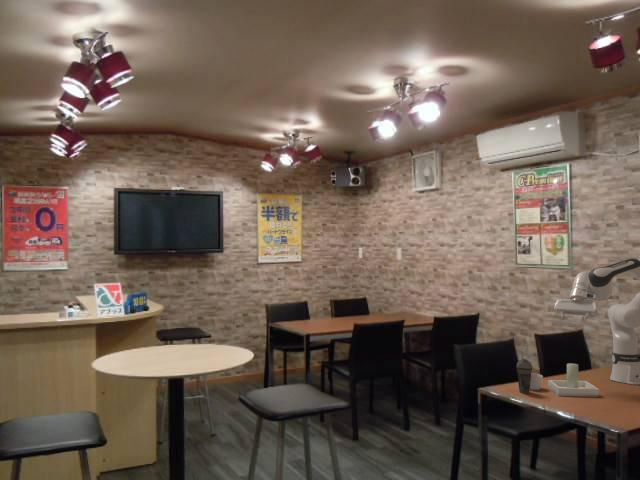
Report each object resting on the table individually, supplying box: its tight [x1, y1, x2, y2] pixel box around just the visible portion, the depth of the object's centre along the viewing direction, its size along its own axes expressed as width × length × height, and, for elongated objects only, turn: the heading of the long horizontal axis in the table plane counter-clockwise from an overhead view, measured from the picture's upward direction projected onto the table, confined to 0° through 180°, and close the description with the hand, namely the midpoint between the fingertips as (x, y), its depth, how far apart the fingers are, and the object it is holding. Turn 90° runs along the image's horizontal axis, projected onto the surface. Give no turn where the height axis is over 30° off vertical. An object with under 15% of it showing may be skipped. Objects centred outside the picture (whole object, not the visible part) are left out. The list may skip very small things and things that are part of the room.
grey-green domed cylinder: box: [566, 362, 579, 388], centre depth 262 cm, size 5×5×12 cm
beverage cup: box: [516, 349, 533, 394], centre depth 262 cm, size 7×7×20 cm
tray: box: [547, 379, 600, 398], centre depth 262 cm, size 18×16×4 cm
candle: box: [530, 372, 544, 391], centre depth 269 cm, size 9×9×6 cm
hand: (573, 320), depth 269 cm, fingers open, 8 cm apart
